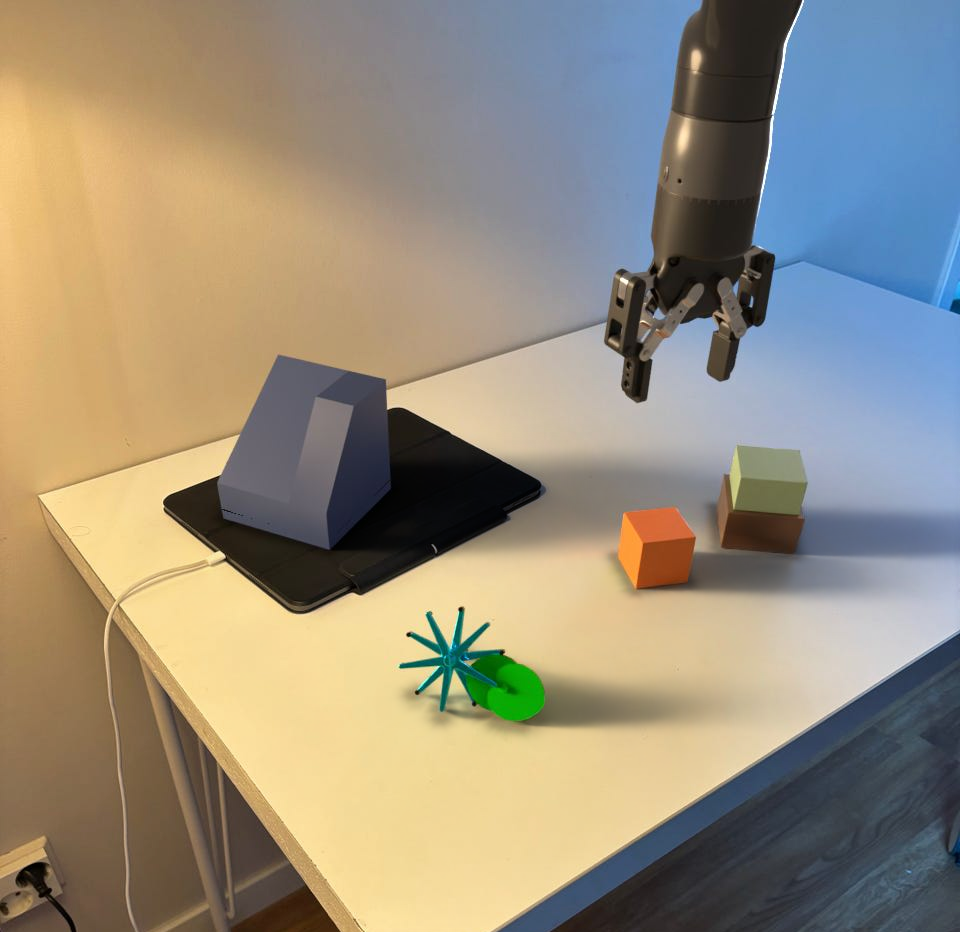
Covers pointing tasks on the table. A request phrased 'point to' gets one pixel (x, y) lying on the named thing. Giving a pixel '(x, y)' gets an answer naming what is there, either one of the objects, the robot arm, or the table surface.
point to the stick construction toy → (481, 673)
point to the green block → (767, 480)
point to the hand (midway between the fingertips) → (677, 387)
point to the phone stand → (309, 453)
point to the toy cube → (656, 547)
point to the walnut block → (756, 526)
